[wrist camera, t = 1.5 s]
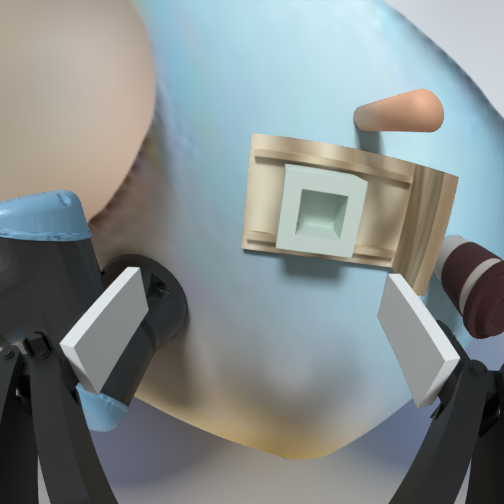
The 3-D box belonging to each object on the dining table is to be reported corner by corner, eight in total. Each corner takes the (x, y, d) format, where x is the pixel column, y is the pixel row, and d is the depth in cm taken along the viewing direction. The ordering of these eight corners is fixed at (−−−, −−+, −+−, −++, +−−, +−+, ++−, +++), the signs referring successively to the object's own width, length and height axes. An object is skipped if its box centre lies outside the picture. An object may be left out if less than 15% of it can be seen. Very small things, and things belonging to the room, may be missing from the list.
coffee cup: (463, 285, 35) (511, 342, 22) (415, 286, 36) (461, 352, 22) (478, 227, 31) (541, 272, 18) (430, 222, 32) (495, 272, 19)
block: (276, 230, 33) (275, 248, 28) (285, 163, 30) (286, 168, 25) (341, 239, 33) (351, 257, 28) (353, 174, 30) (367, 182, 25)
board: (242, 244, 36) (232, 274, 29) (253, 133, 30) (244, 132, 23) (400, 265, 35) (423, 295, 28) (424, 166, 29) (458, 177, 22)
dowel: (351, 128, 29) (405, 125, 15) (354, 103, 28) (408, 82, 14) (376, 134, 29) (441, 137, 15) (379, 109, 28) (445, 97, 14)
